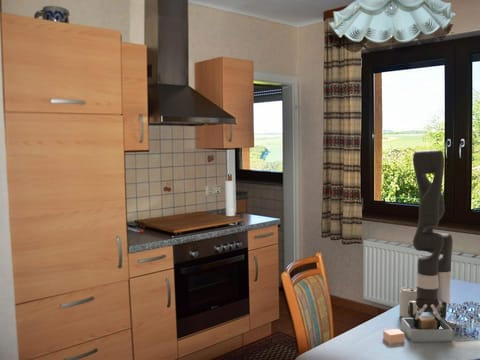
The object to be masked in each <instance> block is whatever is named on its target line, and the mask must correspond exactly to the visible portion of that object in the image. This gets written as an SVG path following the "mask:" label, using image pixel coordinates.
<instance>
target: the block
mask: <svg viewBox="0 0 480 360" xmlns="http://www.w3.org/2000/svg"><path fill="white" fill-rule="evenodd" d="M434 318H435V317H434V316H433V315H420V316H419V318H418V320H419V328H418V329H417V330H436V329H437V321H436V320H435V319H434Z"/></svg>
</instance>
